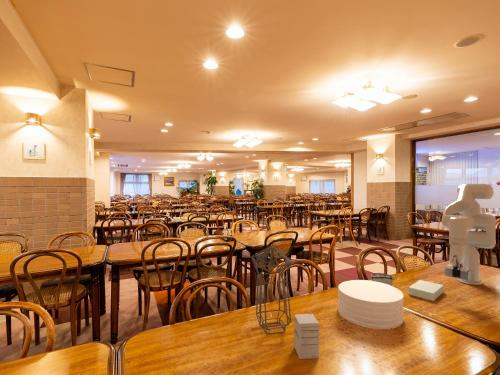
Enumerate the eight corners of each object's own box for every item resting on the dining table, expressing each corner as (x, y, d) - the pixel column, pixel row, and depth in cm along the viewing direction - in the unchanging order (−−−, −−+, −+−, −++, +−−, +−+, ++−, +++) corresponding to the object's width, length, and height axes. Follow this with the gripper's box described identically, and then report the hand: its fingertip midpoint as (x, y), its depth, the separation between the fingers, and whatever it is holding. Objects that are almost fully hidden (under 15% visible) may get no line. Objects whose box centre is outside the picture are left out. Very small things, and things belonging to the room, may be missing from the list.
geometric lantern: (296, 336, 115) (295, 249, 114) (258, 341, 113) (256, 252, 111) (285, 317, 131) (284, 241, 129) (251, 321, 128) (249, 243, 127)
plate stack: (410, 313, 136) (411, 289, 136) (391, 337, 115) (391, 308, 115) (352, 297, 155) (353, 276, 155) (327, 314, 135) (327, 290, 134)
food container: (389, 290, 165) (389, 273, 164) (393, 294, 158) (394, 276, 158) (367, 289, 166) (367, 272, 166) (370, 293, 160) (370, 275, 159)
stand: (419, 286, 171) (419, 279, 171) (443, 292, 162) (443, 285, 162) (408, 294, 159) (408, 287, 159) (433, 301, 150) (433, 293, 150)
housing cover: (448, 266, 155) (448, 264, 155) (468, 270, 149) (468, 267, 148) (446, 268, 152) (446, 265, 152) (466, 272, 146) (466, 269, 146)
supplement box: (293, 347, 108) (293, 313, 107) (313, 346, 108) (313, 313, 108) (298, 359, 100) (298, 323, 100) (319, 358, 101) (319, 322, 101)
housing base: (447, 273, 156) (447, 266, 156) (470, 278, 149) (470, 270, 149) (444, 275, 153) (444, 268, 153) (468, 280, 145) (468, 272, 145)
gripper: (453, 237, 159) (453, 270, 159) (444, 242, 147) (444, 277, 148) (470, 239, 153) (470, 273, 154) (462, 244, 142) (462, 281, 142)
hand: (457, 275), depth 151 cm, fingers closed on housing base, 5 cm apart
